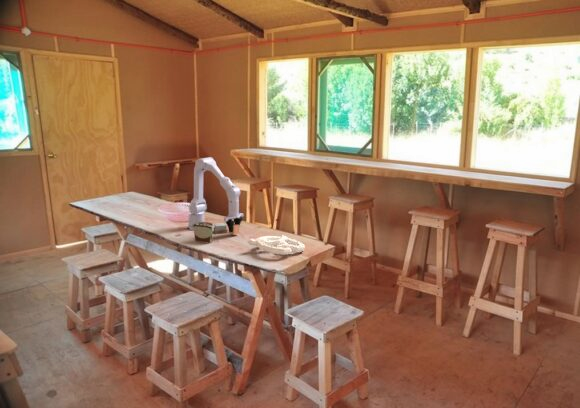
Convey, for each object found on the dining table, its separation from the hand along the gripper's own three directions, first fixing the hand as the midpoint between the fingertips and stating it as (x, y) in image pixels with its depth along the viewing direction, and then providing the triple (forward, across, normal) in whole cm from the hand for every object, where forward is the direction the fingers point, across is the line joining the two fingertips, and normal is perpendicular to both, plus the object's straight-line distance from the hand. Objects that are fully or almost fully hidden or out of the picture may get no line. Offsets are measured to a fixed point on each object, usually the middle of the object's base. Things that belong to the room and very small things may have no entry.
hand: (233, 230), depth 254 cm
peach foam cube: (+2, 0, 0) cm, 2 cm away
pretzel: (+3, -5, -36) cm, 37 cm away
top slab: (+1, 0, +11) cm, 11 cm away
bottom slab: (+3, 0, +11) cm, 11 cm away
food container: (+3, -17, +5) cm, 18 cm away
